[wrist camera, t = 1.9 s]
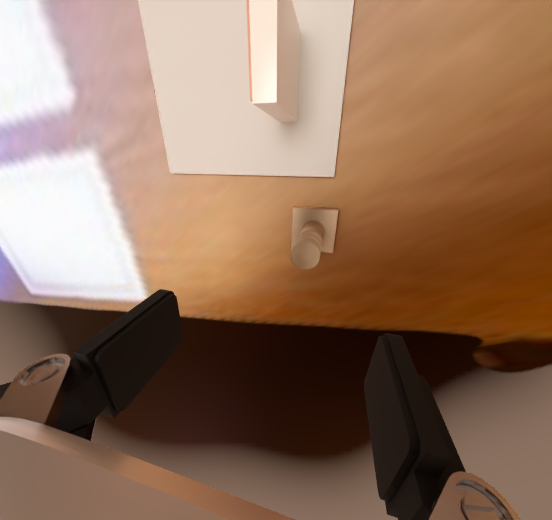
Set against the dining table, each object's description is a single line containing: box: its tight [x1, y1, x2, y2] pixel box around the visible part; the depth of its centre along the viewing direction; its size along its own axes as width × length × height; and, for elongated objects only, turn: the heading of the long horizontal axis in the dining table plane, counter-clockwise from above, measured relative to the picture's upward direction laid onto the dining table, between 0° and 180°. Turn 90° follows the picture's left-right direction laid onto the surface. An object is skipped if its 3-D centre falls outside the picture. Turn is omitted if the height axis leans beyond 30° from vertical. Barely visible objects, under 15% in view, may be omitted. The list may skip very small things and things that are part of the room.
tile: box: [246, 0, 301, 123], centre depth 20 cm, size 2×8×10 cm, turn 179°
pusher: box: [291, 206, 338, 269], centre depth 27 cm, size 6×6×10 cm
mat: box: [138, 0, 354, 177], centre depth 26 cm, size 24×20×1 cm
